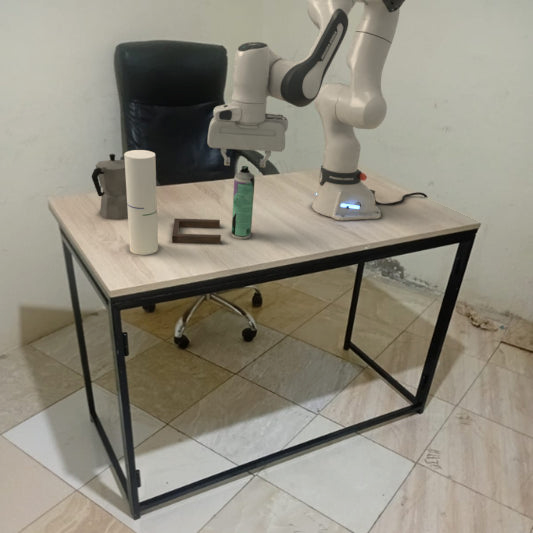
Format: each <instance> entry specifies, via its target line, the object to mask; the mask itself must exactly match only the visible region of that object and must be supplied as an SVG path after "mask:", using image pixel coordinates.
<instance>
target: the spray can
mask: <svg viewBox="0 0 533 533" xmlns="http://www.w3.org/2000/svg"><path fill="white" fill-rule="evenodd" d="M255 181H256V180H255V175H254V174H253V173H251V171H250V169H249V166H248V165H243V166H241V169H240V170H239V172H236V173H235V174H234V178H233V197H232V198H233V200H232V219H231V236H232V237H233V238H234V239H237V240H246V239H249V238H251V235H252V223H253V210H254V197H255V196H254V195H255Z"/></svg>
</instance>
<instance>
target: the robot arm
mask: <svg viewBox="0 0 533 533" xmlns="http://www.w3.org/2000/svg"><path fill="white" fill-rule="evenodd" d="M404 2H406V0H306V11H307V14H308V17H309V19H310V20H311V22H312V23H313V25H314V27H316V28H317V29H318V30H319V32H318V33H319V34H318V35H317V37H316V39H315V40H314V43H313V44H312V46H311V49H310V50H309V52H308V55H307V56H306V57H305V58H304V59H302V60H299V61H295V60H290V59H287V58H283V57H282V56H280V55H278V54H276V53H275V52H274V51H272V49H270V47H269V45H268V44H267V43H265V42H259V41H255V42H254V41H253V42H245V43H242V44H240V45H239V46H238V47H237V49H236V51H235V55H234V60H233V66H232V67H233V68H232V85H233V92H232V95H231V102H229V103H225V104H221V105H217V106H215V107H213V114H212V115H213V117H212V118H211V120H210V121H209V126H208V132H207V140H206V141H207V145H208V147H209V148H212V149H220V154H221V156H222V157H223V160H224V161H223V165H224V166H231V157H230V156H227V154H226V153H227V150H242V151H243V150H245V151H262V152H264V154H265V155H264V156H263V158H259V167H260V168H266V165H267V161H268V160H269V159H270V157H271V155H272V152H277V153H278V152H280V153H281V152H283V151H284V150H285V149H286V132H287V130H288V127H289V120H288V118H287V117H286V116H284V115H283V114H281V113H279V114H274V113H267V104H268V97H271V98H274V99H276V100H280V101H283V102H286V103H288V104H291V105H293V106H295V107H298V108H304V107H307V106H309V105H310V104H311V103H312V102H314V103H313V104H314V108H315V110H316V111H317V113H318V115H319V118H320V120H321V124H322V129H323V134H324V149H323V158H322V165H321V166H320V170H319V175H318V183H319V185H318V189H317V192H316V193H315V198H314V200H313V203H312V205H311V209H312V210H313V211H314V212H316V213H318V214H320V215H322V216H325V217H329V218H332V219H334V220H336V221H358V220H376V219H380V218H381V215H382V212H381V210H380V208H379V207H378V205H379V206H395V205H398V204H401V203H403V202H404V201H405V200H406V198H407V197H412V196H423V197H424V198H426V199H428V198H429V197H428V195H427V194H426V193H424V192H417V191H416V192H411V193H407V194H404V195H402V197H401V199H400V200H397V201H392V202H388V203H382V202H379V201H377V199H376V195H375V194H376V190H373V189H370V188H369V187H368V186H367V185H366V184H365V183H363V181H366V180H367V179H368V176H367V174H365V173H364V172H362V171H361V170H360V169H358V167H359V161H360V154H361V143H360V141H359V139H358V138H357V136H356V133H355V131H354V130H355V129H358V130H374V129H377V128H378V127H379V126H381V125H382V123H383V121H384V120H385V118H386V115H387V110H388V107H387V106H388V105H387V102H386V99H385V97H384V94H383V91H382V76H383V70H384V67H385V64H386V60H387V58H388V54H389V53H390V52H389V51H390V49H391V47H392V44H393V41H394V38H395V35H396V31H397V29H398V28H397V27H398V23H399V18H400V12H401V11H400V10H401V9H400V8H401V7H402V5H403V4H404ZM356 3H360V4H363V12H362V15H361V17H360V19H359V21H358V24H357V26H356V28H355V31H354V34H353V37H352V40H351V43H350V46H349V49H348V52H347V55H346V58H345V61H346V65H347V67H348V68H349V70H350V83H349V84H345V83H341V82H327V83H324V84H323V82H324V78H325V77H326V74H327V72H328V70H329V68H330V66H331V65H332V63H333V60H334V58H335V56H336V54H337V53H338V51H339V49H340V47H341V45H342V43H343V41H344V40H345V39H344V38H345V36H346V34H347V31H348V29H349V28H348V27H349V14H350V13H351V11H352V10H353V8H354V7H355V5H356ZM354 128H355V129H354Z"/></svg>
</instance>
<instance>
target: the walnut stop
mask: <svg viewBox="0 0 533 533" xmlns="http://www.w3.org/2000/svg"><path fill="white" fill-rule="evenodd" d="M220 225H221V219H211V218H210V219H209V218H208V219H206V218H200V219H199V218H176V217H175V218H174V219H173V227H172V234H171V243H172V244H174V243H175V244H176V243H177V244H213V245H214V244H219V245H220V244H221V243H222V237H221V234H207V233H205V234H200V233H199V234H198V233H180V228H201V229H202V228H203V229H207V228H208V229H220V227H221V226H220Z"/></svg>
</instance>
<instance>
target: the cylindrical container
mask: <svg viewBox="0 0 533 533" xmlns="http://www.w3.org/2000/svg"><path fill="white" fill-rule="evenodd" d="M123 156H124V157H123V158H124V160H125V174H126V191H127V208H128V217H127V223H128V224H127V225H128V242H129V251H130V252H131V253H133V254H135V255H140V256H141V255H142V256H145V255H146V256H147V255H152V254H154V253H156V252H157V251H158V250H159V237H158V236H159V234H158V200H157V168H156V166H157V165H156V163H157V162H156V153H155V152H153V151H150V150H145V149H134V150H128V151H126V152H124V154H123Z"/></svg>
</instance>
